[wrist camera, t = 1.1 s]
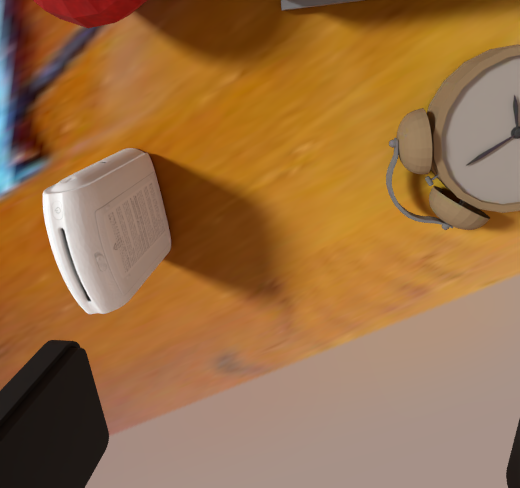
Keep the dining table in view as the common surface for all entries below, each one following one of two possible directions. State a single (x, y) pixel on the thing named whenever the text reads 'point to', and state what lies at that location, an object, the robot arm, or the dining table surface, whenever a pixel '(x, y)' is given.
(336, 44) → the dining table surface
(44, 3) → the apple
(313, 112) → the dining table surface
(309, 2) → the grey square tray
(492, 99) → the alarm clock
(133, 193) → the photo printer
